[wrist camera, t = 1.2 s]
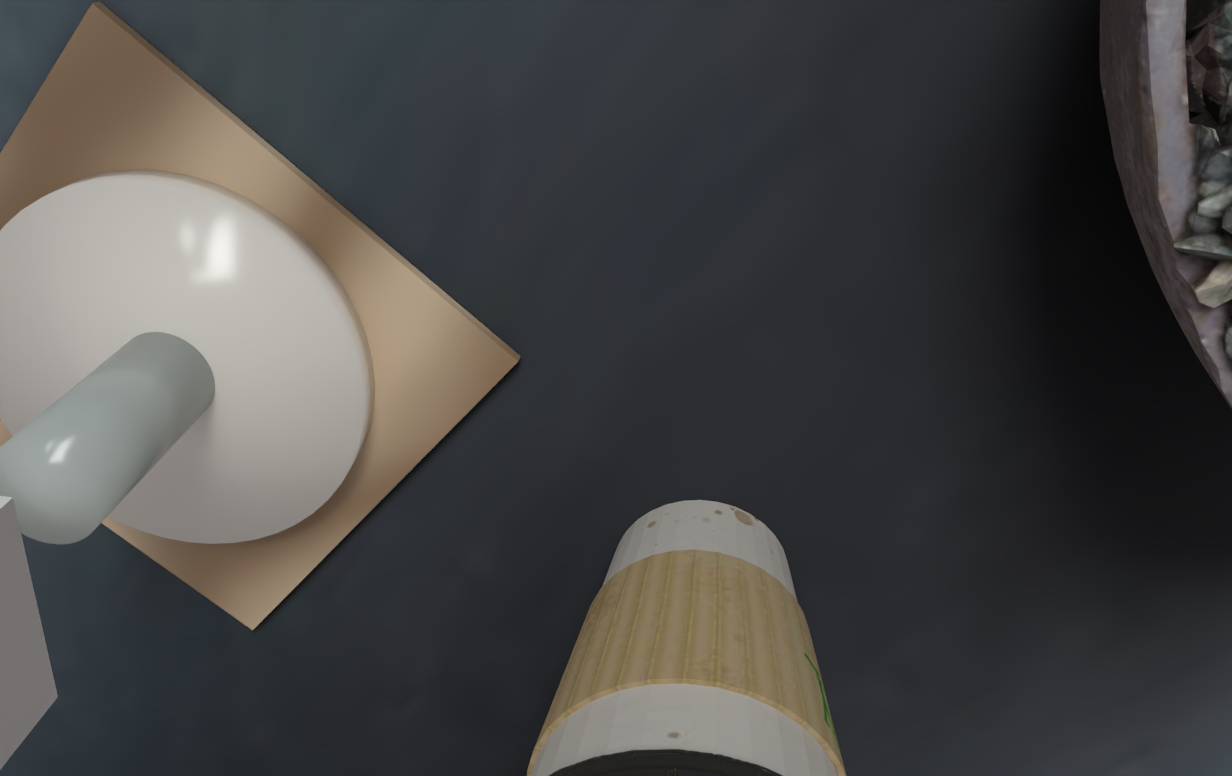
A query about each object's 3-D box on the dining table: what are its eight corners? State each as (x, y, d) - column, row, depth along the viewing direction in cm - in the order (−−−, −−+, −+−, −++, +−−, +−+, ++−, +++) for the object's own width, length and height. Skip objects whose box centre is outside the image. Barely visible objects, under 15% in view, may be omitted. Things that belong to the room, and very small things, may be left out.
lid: (-71, 361, 37) (-269, 489, 30) (111, 79, 32) (-76, 151, 25) (240, 585, 40) (129, 751, 33) (453, 361, 35) (377, 499, 28)
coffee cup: (665, 718, 41) (626, 1135, 28) (506, 536, 38) (379, 909, 25) (895, 611, 38) (974, 1030, 25) (741, 403, 35) (737, 753, 22)
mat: (-119, 356, 38) (-127, 361, 37) (99, 1, 31) (92, 3, 31) (256, 623, 41) (252, 630, 41) (520, 356, 35) (518, 361, 35)
